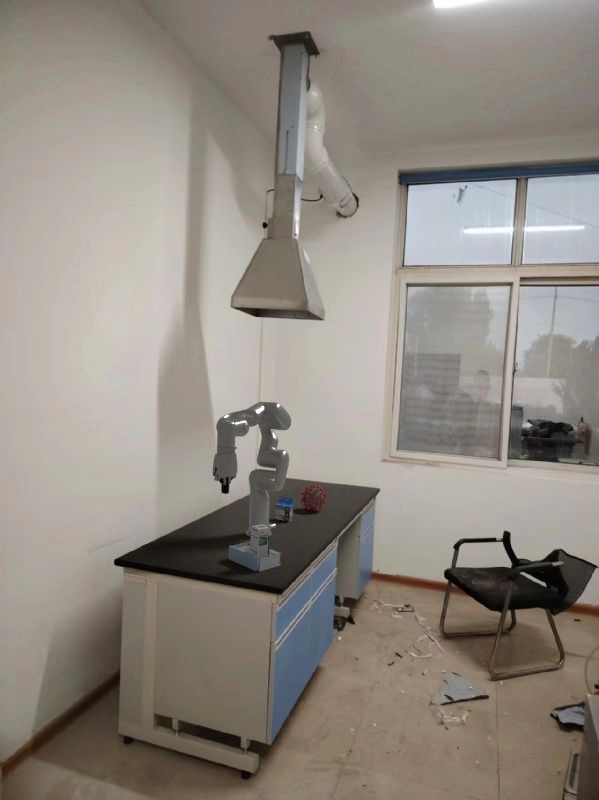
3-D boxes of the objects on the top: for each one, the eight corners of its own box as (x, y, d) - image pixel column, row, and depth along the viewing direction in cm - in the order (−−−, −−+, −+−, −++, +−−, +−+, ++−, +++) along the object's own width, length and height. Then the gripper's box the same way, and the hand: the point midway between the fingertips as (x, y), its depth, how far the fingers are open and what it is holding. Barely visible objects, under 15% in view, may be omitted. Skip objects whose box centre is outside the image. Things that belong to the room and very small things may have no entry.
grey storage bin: (250, 552, 220) (250, 541, 220) (280, 565, 206) (281, 553, 206) (229, 558, 212) (229, 546, 212) (259, 571, 198) (260, 559, 198)
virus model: (325, 508, 304) (327, 483, 303) (324, 515, 289) (325, 488, 288) (301, 507, 305) (302, 482, 305) (299, 513, 290) (300, 487, 290)
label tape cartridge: (274, 519, 274) (275, 497, 274) (278, 518, 277) (279, 495, 277) (289, 522, 270) (290, 499, 269) (292, 521, 273) (293, 498, 273)
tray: (250, 553, 218) (250, 540, 218) (277, 564, 206) (277, 551, 206) (228, 559, 210) (229, 546, 210) (255, 571, 198) (255, 557, 198)
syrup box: (257, 565, 201) (258, 529, 201) (249, 560, 206) (250, 525, 206) (269, 562, 205) (270, 527, 204) (261, 558, 210) (262, 523, 209)
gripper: (234, 447, 221) (233, 488, 223) (206, 450, 211) (205, 494, 212) (245, 449, 216) (244, 492, 217) (217, 453, 205) (216, 497, 207)
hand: (225, 493), depth 215 cm, fingers closed
